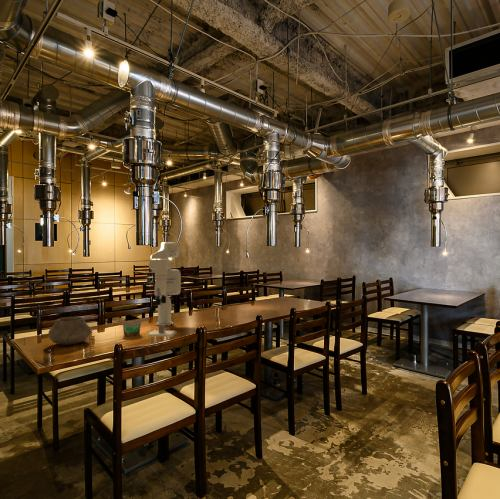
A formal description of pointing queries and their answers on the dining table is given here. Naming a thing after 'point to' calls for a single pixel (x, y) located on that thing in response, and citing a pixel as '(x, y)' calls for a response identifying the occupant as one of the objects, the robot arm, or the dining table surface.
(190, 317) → the dining table surface
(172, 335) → the mat
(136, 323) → the food container
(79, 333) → the grey rounded lump
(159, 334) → the lid
